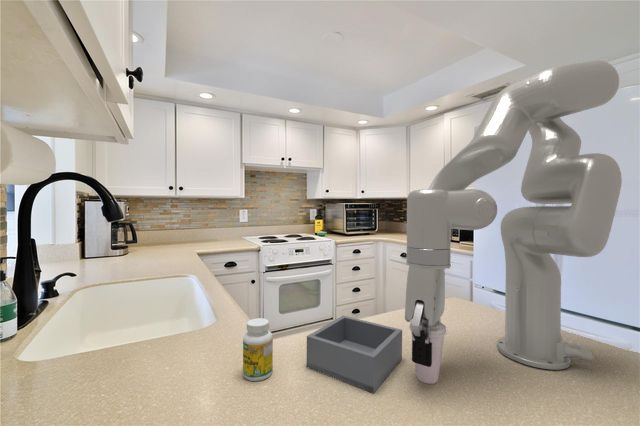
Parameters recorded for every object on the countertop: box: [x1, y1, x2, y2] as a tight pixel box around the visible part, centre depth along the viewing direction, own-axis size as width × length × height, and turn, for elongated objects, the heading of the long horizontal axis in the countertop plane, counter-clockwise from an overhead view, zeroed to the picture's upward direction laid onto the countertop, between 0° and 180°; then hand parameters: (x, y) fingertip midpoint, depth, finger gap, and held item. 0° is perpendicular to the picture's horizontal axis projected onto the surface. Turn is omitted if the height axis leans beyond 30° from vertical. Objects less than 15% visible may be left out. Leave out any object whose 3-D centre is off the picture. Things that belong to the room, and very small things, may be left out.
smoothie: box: [408, 320, 447, 385], centre depth 52 cm, size 6×6×14 cm
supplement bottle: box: [242, 317, 274, 382], centre depth 53 cm, size 5×5×10 cm
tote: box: [305, 315, 403, 394], centre depth 57 cm, size 14×14×6 cm
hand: (427, 354), depth 52 cm, fingers closed on smoothie, 6 cm apart
